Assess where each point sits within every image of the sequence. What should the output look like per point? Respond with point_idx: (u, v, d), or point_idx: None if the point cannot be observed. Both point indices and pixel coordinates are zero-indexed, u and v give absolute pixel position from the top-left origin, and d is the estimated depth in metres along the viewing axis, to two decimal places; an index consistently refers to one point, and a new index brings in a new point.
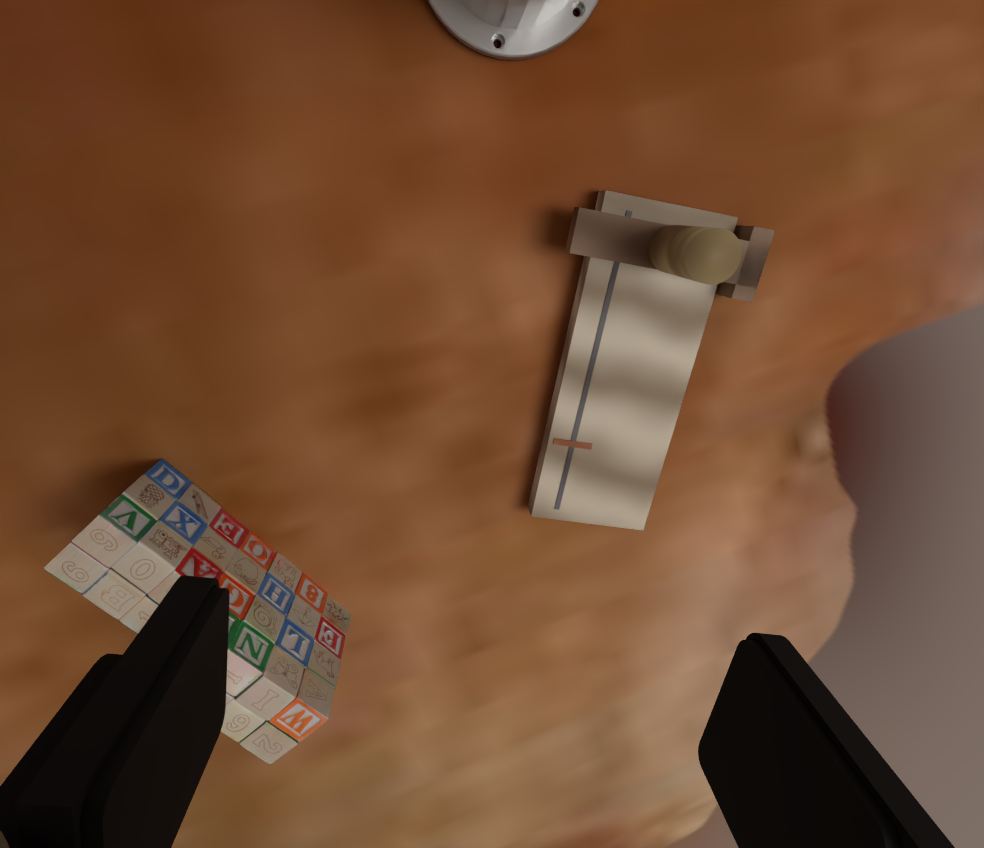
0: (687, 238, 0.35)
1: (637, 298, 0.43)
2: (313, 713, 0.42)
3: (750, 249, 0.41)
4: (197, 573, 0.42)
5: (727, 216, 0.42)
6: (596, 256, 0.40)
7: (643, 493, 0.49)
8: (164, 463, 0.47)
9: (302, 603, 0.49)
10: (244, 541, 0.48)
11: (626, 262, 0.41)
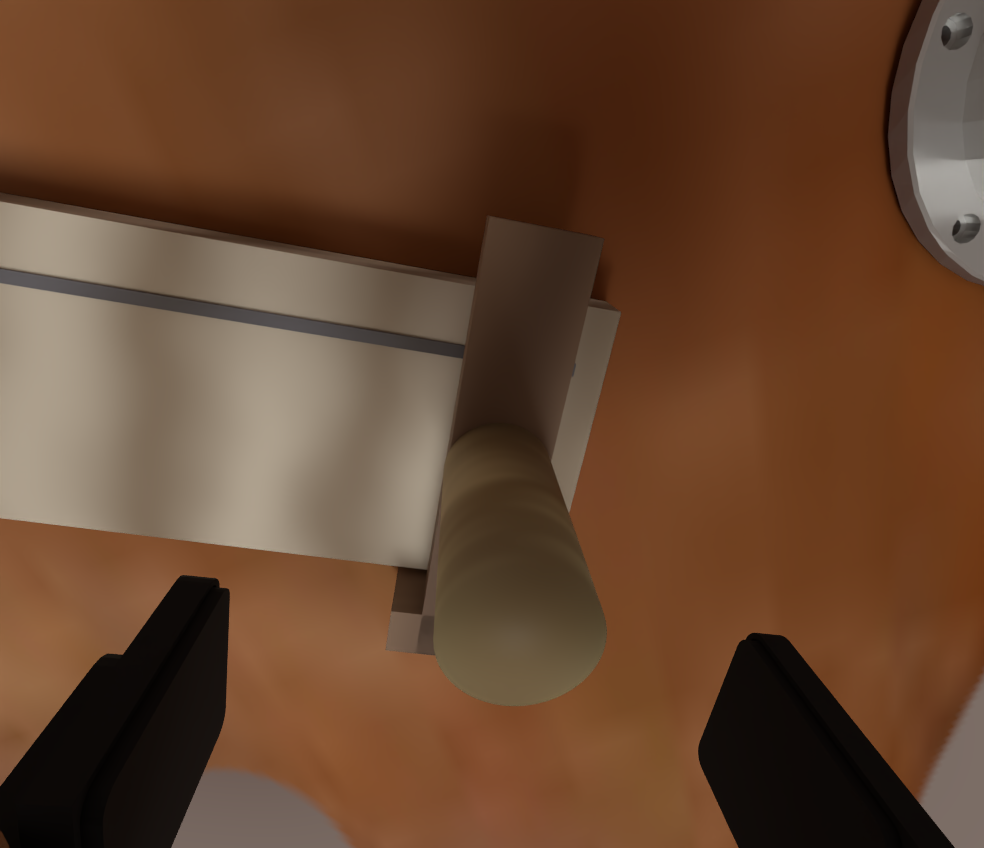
0: (564, 543, 0.11)
1: (378, 407, 0.18)
2: None
3: None
4: None
5: None
6: (480, 293, 0.15)
7: None
8: None
9: None
10: None
11: (466, 372, 0.16)
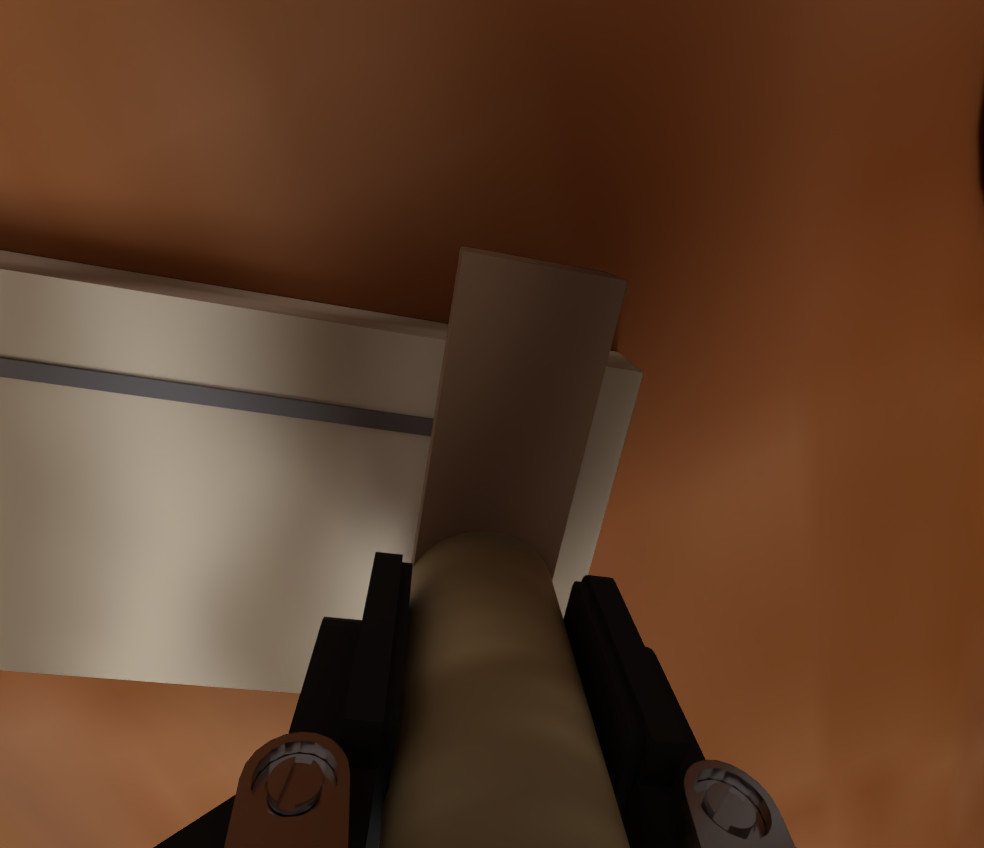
0: (590, 812, 0.07)
1: (318, 500, 0.14)
2: None
3: None
4: None
5: None
6: (451, 358, 0.11)
7: None
8: None
9: None
10: None
11: (433, 466, 0.11)
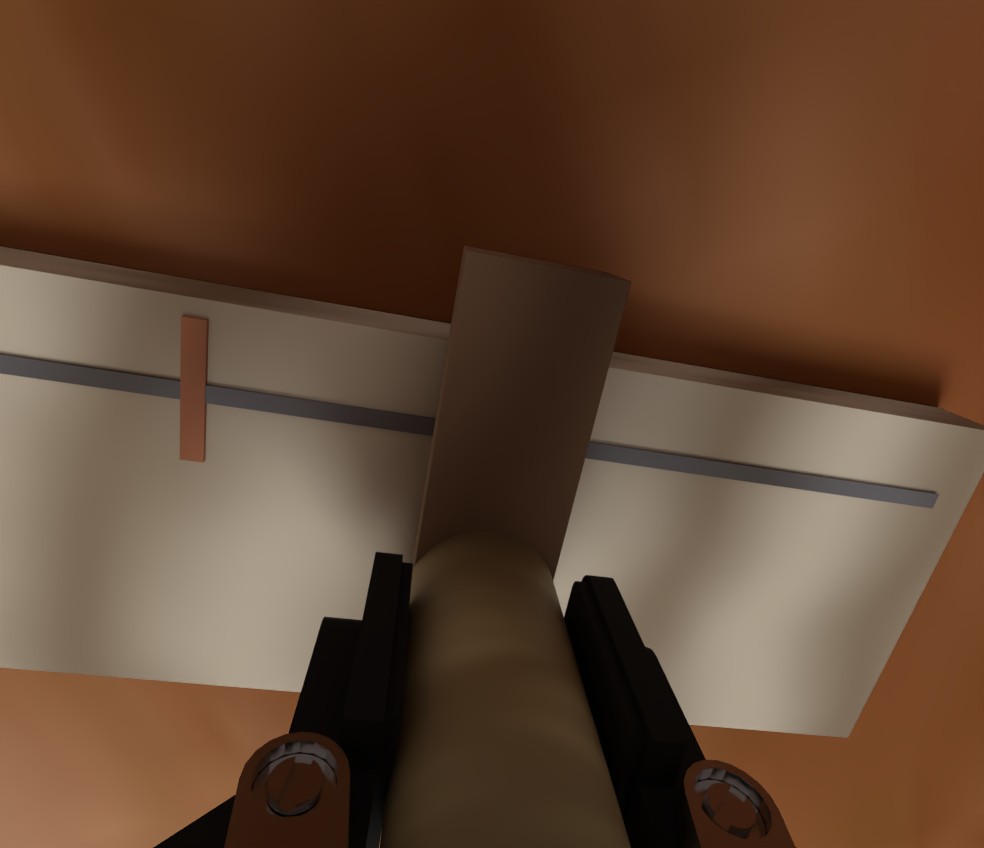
0: (591, 813, 0.07)
1: (693, 547, 0.15)
2: None
3: None
4: None
5: (855, 717, 0.17)
6: (454, 358, 0.11)
7: (39, 641, 0.14)
8: None
9: None
10: None
11: (435, 465, 0.11)
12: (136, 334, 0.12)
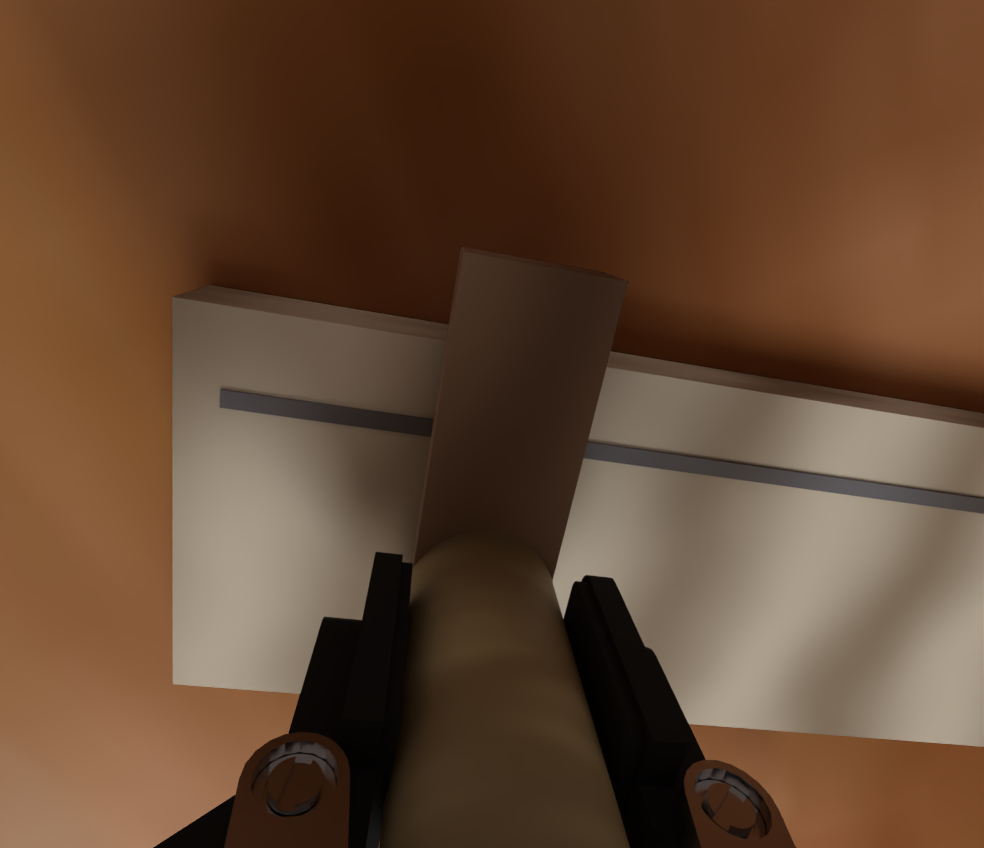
0: (590, 814, 0.07)
1: (921, 574, 0.16)
2: None
3: None
4: None
5: None
6: (452, 359, 0.11)
7: None
8: None
9: None
10: None
11: (433, 466, 0.11)
12: None
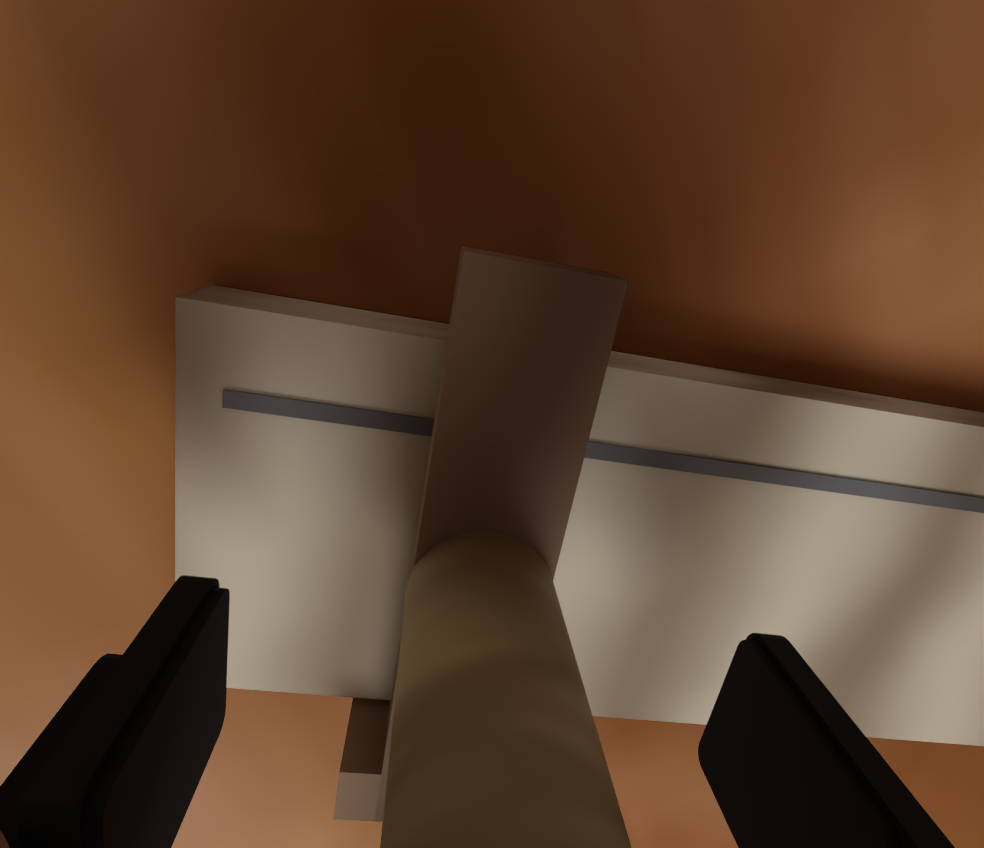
0: (591, 813, 0.07)
1: (923, 573, 0.16)
2: None
3: None
4: None
5: None
6: (452, 358, 0.11)
7: (315, 667, 0.15)
8: None
9: None
10: None
11: (434, 466, 0.11)
12: None
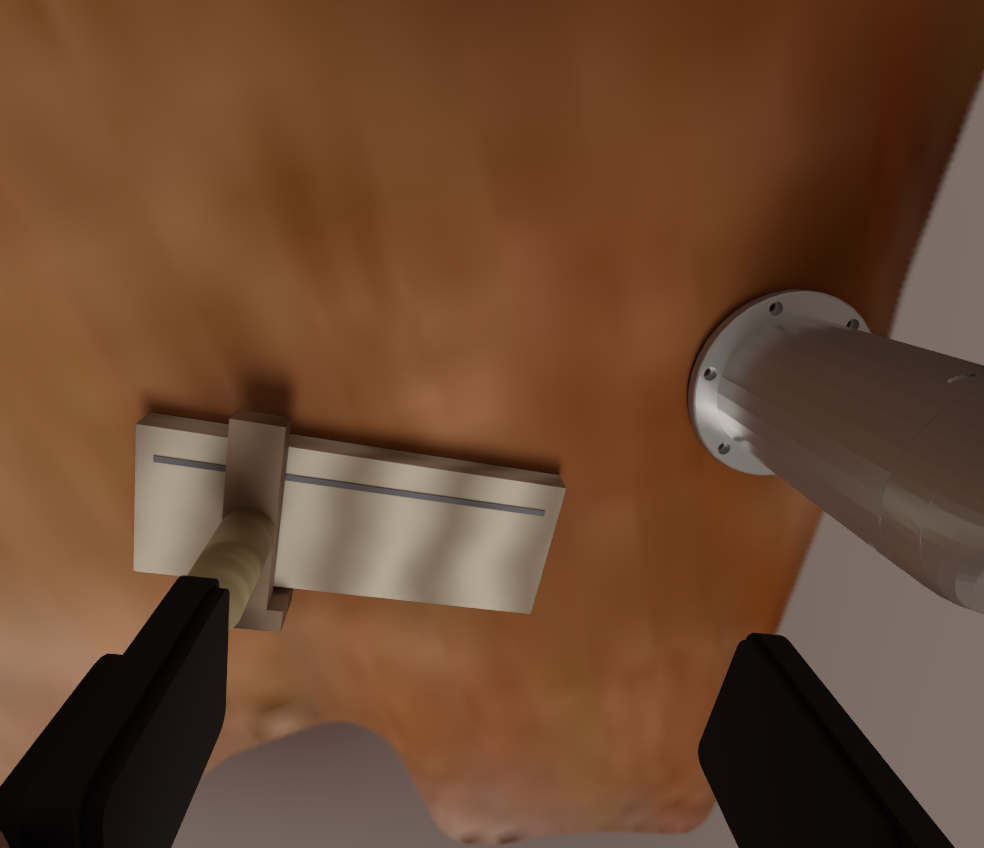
0: (232, 570, 0.29)
1: (450, 530, 0.38)
2: None
3: (257, 612, 0.36)
4: None
5: (532, 604, 0.41)
6: (229, 450, 0.33)
7: (192, 565, 0.37)
8: None
9: None
10: None
11: (226, 485, 0.33)
12: None
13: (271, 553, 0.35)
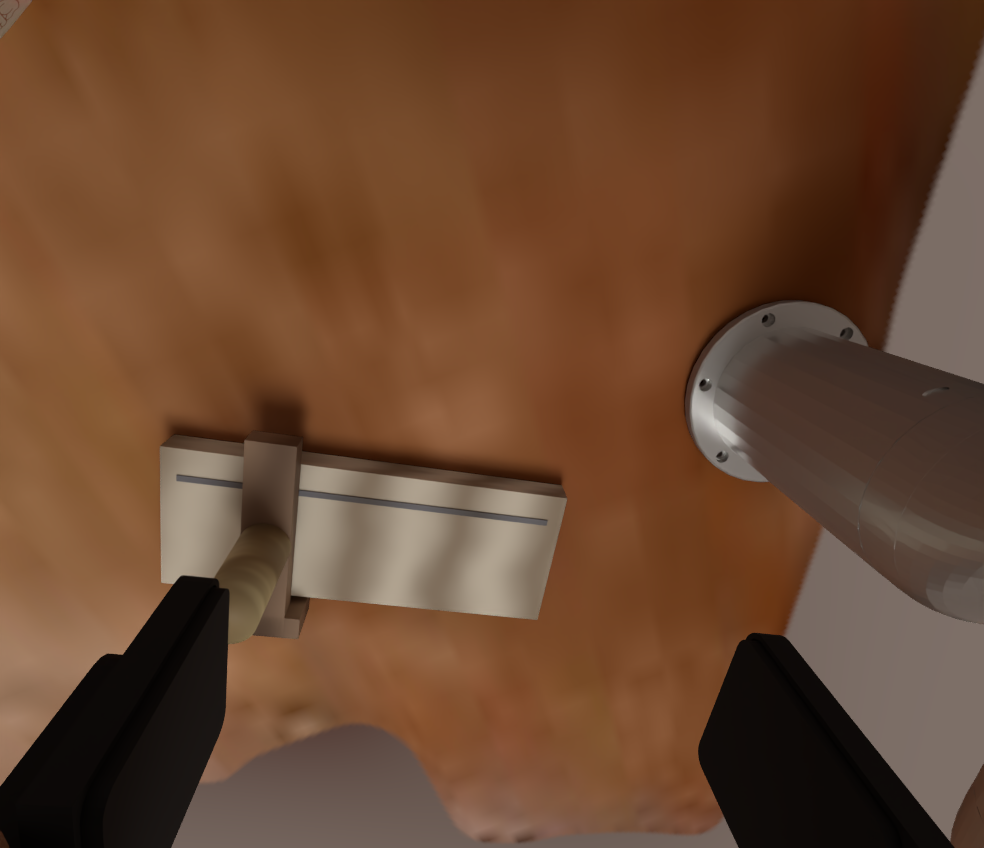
0: (248, 583, 0.31)
1: (457, 540, 0.40)
2: None
3: (275, 620, 0.39)
4: None
5: (538, 610, 0.42)
6: (245, 469, 0.35)
7: None
8: None
9: None
10: None
11: (243, 502, 0.35)
12: None
13: (287, 565, 0.37)
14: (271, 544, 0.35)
